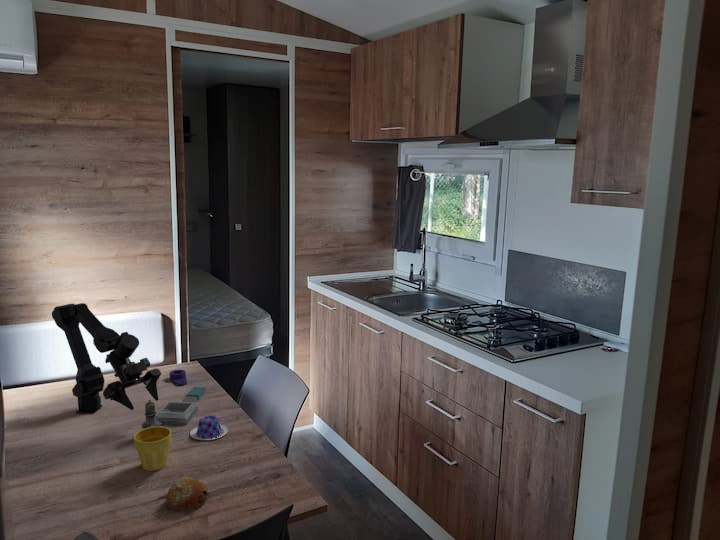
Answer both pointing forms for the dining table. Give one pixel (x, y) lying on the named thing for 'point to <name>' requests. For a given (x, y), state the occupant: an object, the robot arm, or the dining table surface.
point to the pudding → (208, 428)
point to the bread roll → (186, 494)
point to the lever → (178, 377)
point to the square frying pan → (181, 408)
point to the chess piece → (150, 416)
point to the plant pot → (153, 446)
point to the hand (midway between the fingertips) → (145, 404)
